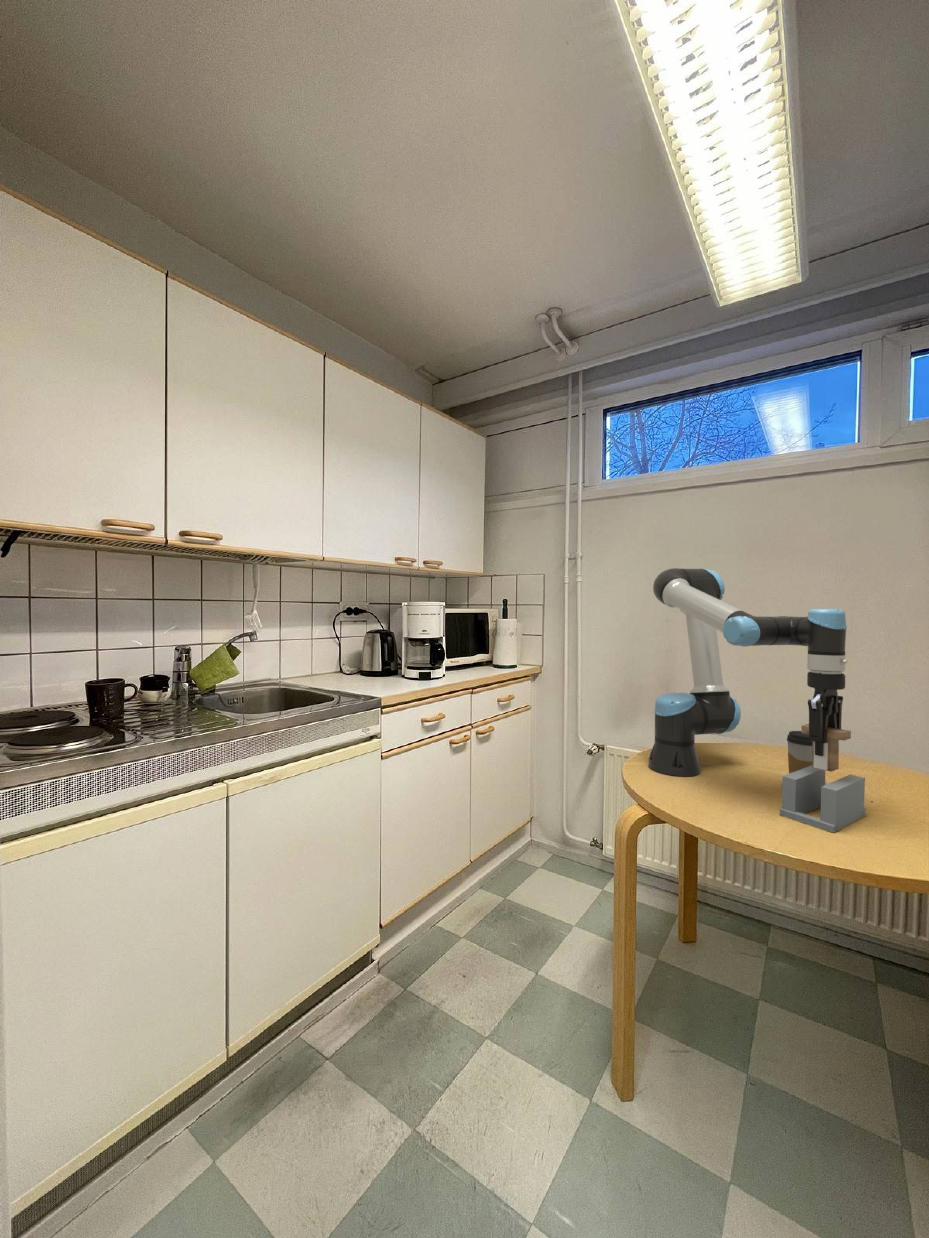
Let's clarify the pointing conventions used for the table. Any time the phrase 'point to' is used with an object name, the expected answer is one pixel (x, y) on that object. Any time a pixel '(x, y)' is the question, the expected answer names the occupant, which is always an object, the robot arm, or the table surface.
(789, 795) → the slot stand
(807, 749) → the coffee cup
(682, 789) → the table surface
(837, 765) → the wooden t-shaped block
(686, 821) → the table surface
